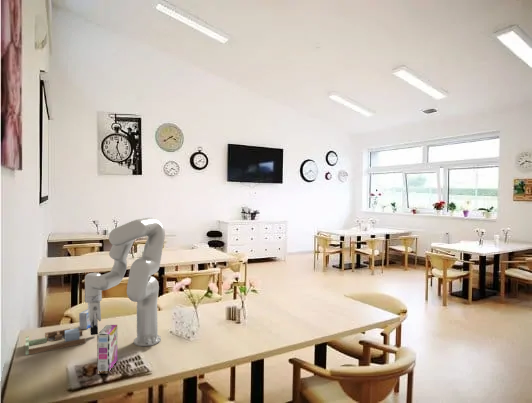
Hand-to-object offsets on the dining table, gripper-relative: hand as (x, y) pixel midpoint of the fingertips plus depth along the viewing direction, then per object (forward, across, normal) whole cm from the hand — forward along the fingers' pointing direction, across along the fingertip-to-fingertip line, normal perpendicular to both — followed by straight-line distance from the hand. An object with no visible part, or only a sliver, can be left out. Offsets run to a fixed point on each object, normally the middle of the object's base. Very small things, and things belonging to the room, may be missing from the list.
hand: (94, 334), depth 190 cm
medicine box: (+2, +17, +1) cm, 17 cm away
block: (+2, 0, +10) cm, 10 cm away
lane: (+1, +3, +17) cm, 17 cm away
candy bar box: (+2, -39, 0) cm, 39 cm away
